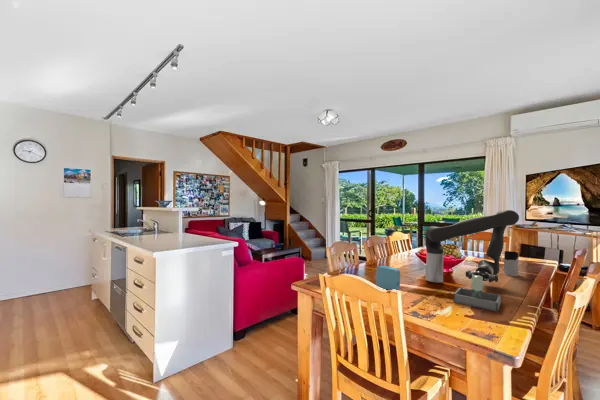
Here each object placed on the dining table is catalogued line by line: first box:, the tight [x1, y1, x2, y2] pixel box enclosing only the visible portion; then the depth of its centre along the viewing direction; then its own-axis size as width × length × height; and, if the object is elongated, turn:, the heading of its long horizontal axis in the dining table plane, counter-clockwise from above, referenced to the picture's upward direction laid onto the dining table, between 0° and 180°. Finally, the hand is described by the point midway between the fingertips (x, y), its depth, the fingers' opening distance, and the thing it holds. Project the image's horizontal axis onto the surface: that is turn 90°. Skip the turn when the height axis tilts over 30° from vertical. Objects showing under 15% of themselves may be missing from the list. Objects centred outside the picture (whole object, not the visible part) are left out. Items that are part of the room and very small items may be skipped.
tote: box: [453, 287, 502, 313], centre depth 136 cm, size 18×14×4 cm
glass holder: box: [499, 250, 520, 277], centre depth 191 cm, size 9×14×15 cm, turn 57°
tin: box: [471, 274, 484, 299], centre depth 136 cm, size 4×4×12 cm
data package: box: [375, 265, 401, 291], centre depth 156 cm, size 12×4×12 cm, turn 45°
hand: (479, 278), depth 142 cm, fingers open, 8 cm apart
